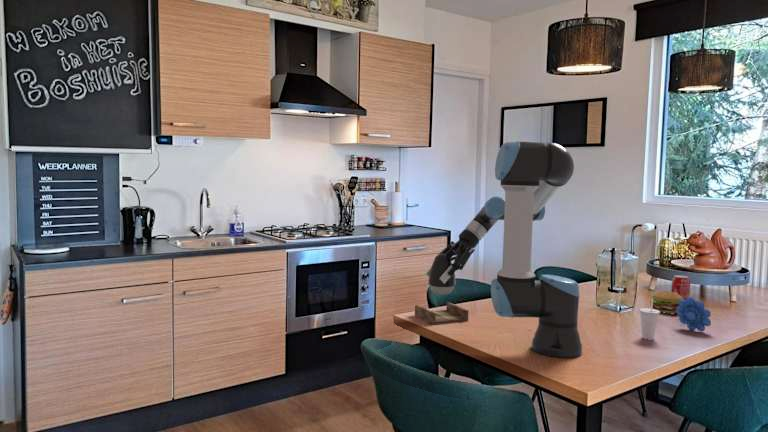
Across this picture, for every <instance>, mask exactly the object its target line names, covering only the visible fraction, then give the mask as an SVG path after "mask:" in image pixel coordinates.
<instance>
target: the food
mask: <svg viewBox="0 0 768 432" xmlns="http://www.w3.org/2000/svg"><path fill="white" fill-rule="evenodd" d="M651 298H653V309H655V310H658V311H660V313H661V312H665V313H664V314H666V313H677V312H676V308H677V307H680V305H679V301H680V300H681V299H682V297H681V296H680V295H678V294H676V293H673V292H671V291H665V290H664V291H658V292H656V293H654V294H653V295H652V296H651V297H650V300H649V303H650V304H649V305H650V307H651Z"/></svg>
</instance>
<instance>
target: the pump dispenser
mask: <svg viewBox="0 0 768 432" xmlns="http://www.w3.org/2000/svg"><path fill="white" fill-rule="evenodd" d="M438 254H439V253H438ZM438 254H437V255H436V256H435V257H436V258H435V257H434V260H433V262H432V264H431V266H430V268H431V270H430V274H429V276H428V280H427V281H428V285H429V289H430V290H431V292H432V293H434V294H436V295H439V296H447V295H450V294H451V293H452V292H453V291H454V289H455V286H456V284H457V283H456V271H455V272H454V274H453V275H452V276H451V277H450V278H449V279H448V280H447V282H446V283H445V284H444V283H443V282H442V281H441V280H440V279H439V278H440V277H441V276H442V275H443V274H444V272H445V271H446V270H447V269H448V268H449V267H450V265H451V264H453V263H452V262H454V261H455V258H456V256H457V255H456V256H452V257H451V258H449V257H448V255H446V254H439V255H438ZM451 266H452V265H451ZM452 267H453V266H452Z"/></svg>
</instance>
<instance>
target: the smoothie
mask: <svg viewBox="0 0 768 432" xmlns="http://www.w3.org/2000/svg"><path fill="white" fill-rule="evenodd" d="M650 300H651V306H650V308H643V307H642V308H640V309H639V313H640V326H641V339H643V338H644V340H647V339H648V340H649V341H653V339H654V340H655V335H656V332H657V326H658V321H659V317H660V315H661V312H660V311H658V310H655V309H653V298H651V297H650Z"/></svg>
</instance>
